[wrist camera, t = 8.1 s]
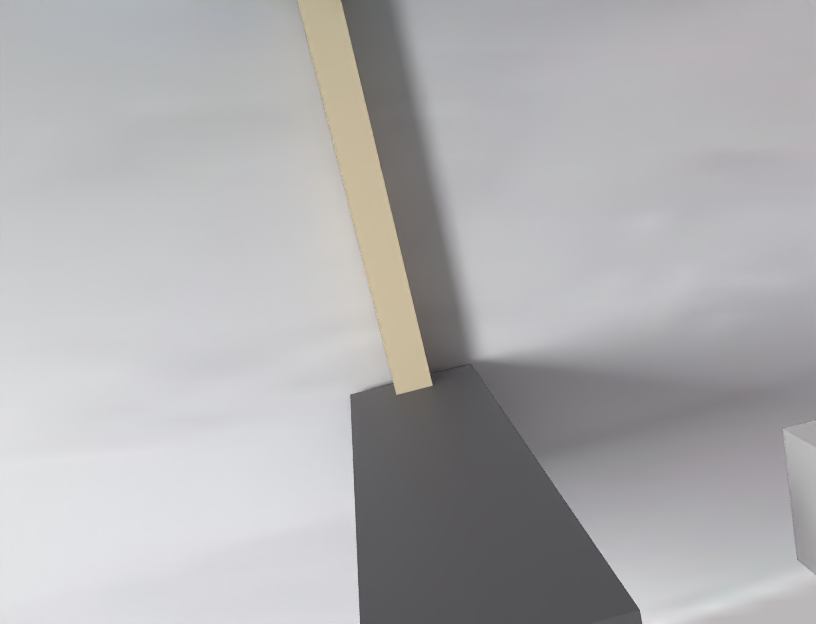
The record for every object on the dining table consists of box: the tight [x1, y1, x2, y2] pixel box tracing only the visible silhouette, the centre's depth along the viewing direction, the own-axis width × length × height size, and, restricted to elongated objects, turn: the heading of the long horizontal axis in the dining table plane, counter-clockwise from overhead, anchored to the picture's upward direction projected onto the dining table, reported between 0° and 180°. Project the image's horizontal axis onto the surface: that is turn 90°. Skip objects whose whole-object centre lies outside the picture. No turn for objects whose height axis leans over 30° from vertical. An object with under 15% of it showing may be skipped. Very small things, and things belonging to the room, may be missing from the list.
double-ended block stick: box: [297, 0, 642, 624], centre depth 12 cm, size 6×21×11 cm, turn 13°
